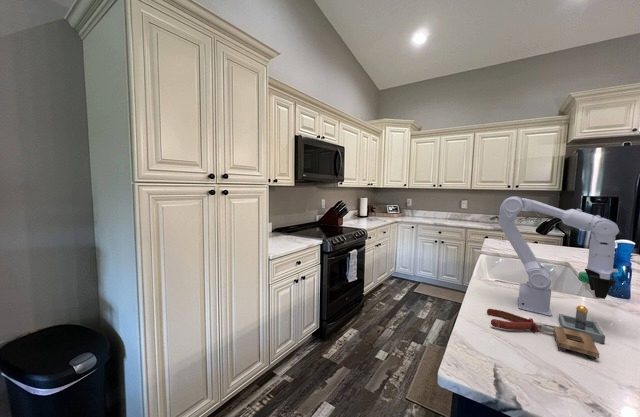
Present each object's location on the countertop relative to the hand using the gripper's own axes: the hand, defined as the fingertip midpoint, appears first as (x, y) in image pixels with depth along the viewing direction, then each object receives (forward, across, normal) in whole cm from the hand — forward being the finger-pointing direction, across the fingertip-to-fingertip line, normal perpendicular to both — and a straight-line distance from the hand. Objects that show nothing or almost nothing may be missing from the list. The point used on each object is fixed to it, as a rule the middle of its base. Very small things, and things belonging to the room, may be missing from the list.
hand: (597, 294), depth 87 cm
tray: (+10, -10, +5) cm, 15 cm away
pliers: (+10, -20, +20) cm, 30 cm away
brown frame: (+10, -22, +8) cm, 26 cm away
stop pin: (+10, -10, +5) cm, 15 cm away
